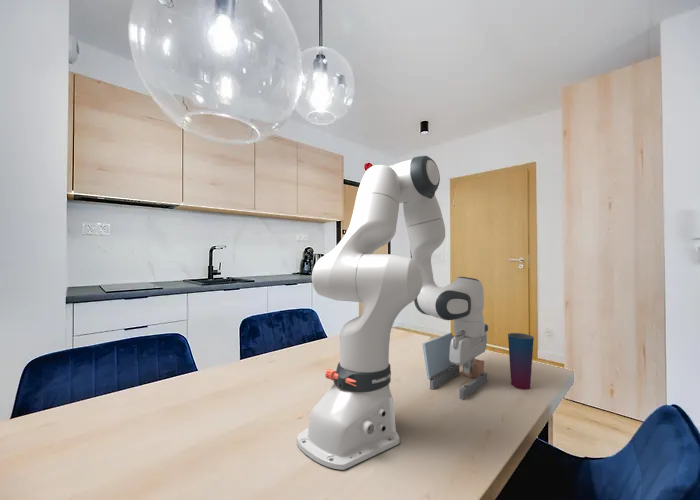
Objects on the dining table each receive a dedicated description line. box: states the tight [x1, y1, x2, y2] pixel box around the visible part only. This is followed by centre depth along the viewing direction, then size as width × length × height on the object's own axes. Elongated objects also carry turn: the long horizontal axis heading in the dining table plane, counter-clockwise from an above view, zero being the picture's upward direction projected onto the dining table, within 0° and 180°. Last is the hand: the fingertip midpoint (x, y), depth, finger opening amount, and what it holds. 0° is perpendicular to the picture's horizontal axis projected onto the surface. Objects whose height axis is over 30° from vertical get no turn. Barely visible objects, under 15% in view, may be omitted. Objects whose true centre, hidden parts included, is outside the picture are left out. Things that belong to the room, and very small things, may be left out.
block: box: [462, 358, 485, 379], centre depth 103 cm, size 5×5×4 cm
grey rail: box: [429, 365, 489, 401], centre depth 95 cm, size 18×10×3 cm, turn 137°
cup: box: [507, 332, 535, 390], centre depth 95 cm, size 7×7×15 cm
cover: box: [422, 332, 456, 381], centre depth 100 cm, size 18×10×2 cm
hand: (468, 372), depth 100 cm, fingers closed
